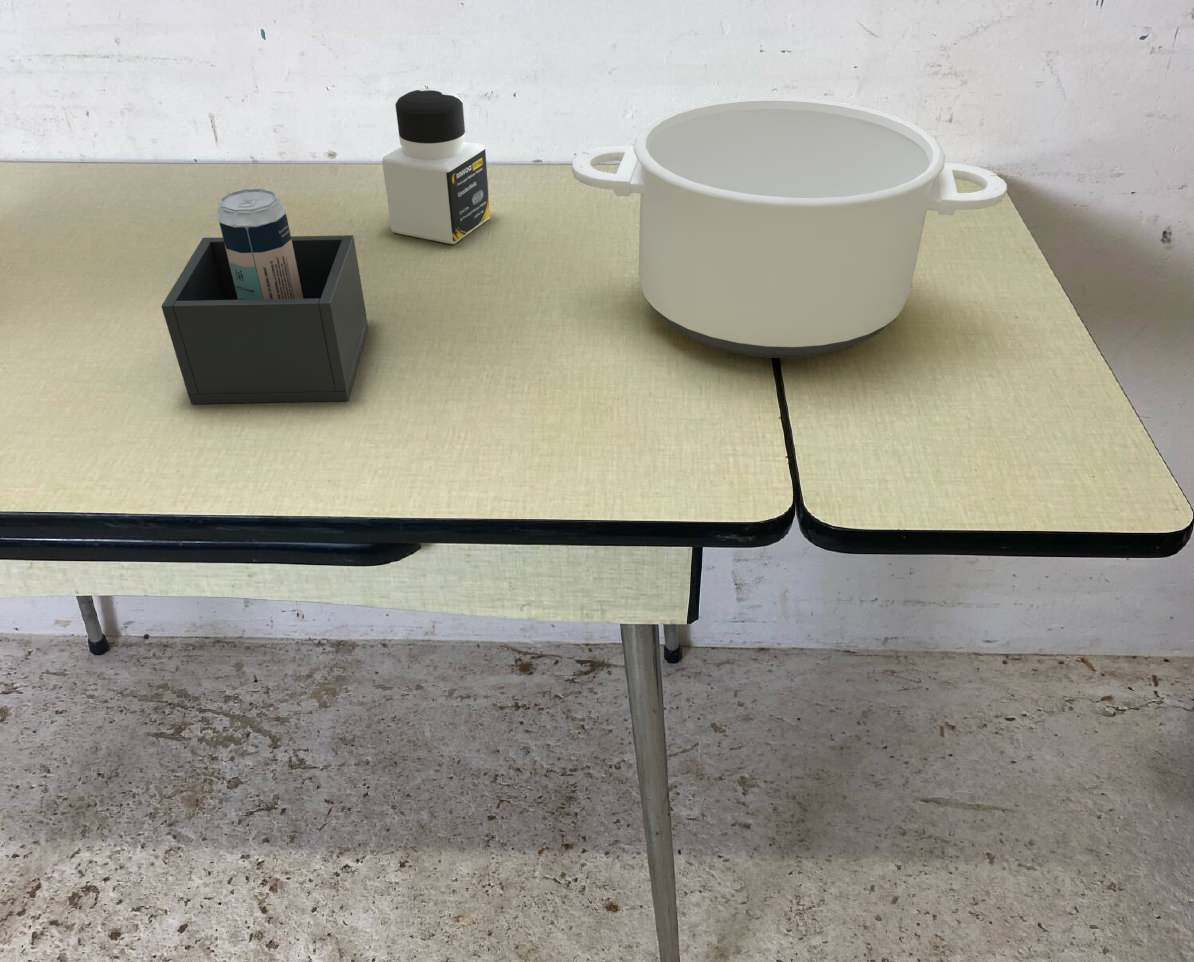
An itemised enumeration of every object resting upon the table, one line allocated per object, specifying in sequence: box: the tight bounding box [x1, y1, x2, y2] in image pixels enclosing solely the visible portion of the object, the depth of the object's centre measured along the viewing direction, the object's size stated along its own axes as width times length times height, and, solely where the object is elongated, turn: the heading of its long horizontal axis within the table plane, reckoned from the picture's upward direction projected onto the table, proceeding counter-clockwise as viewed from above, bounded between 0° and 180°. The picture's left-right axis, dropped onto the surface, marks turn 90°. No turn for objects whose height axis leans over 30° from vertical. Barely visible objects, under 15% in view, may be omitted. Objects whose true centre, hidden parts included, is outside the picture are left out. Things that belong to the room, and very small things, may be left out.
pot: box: [571, 96, 1008, 359], centre depth 84 cm, size 33×23×14 cm
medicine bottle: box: [381, 88, 491, 245], centre depth 98 cm, size 7×7×12 cm
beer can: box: [216, 188, 303, 300], centre depth 77 cm, size 5×5×12 cm
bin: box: [161, 234, 369, 405], centre depth 79 cm, size 12×12×8 cm
